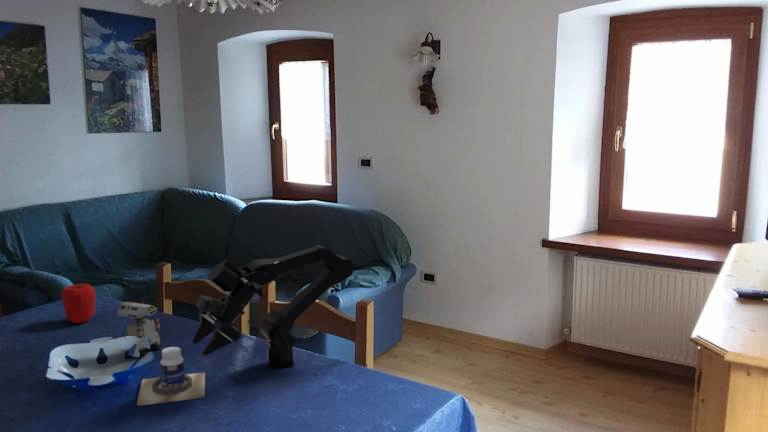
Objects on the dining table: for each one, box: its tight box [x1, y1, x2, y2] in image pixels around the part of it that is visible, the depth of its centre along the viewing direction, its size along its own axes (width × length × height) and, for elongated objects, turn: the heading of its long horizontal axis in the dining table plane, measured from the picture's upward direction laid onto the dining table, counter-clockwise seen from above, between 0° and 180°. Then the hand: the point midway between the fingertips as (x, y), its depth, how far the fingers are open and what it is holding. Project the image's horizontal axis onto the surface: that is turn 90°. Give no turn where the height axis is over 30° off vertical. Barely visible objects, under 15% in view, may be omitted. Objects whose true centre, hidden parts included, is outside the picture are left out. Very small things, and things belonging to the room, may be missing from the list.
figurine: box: [112, 301, 162, 350], centre depth 186 cm, size 9×12×15 cm
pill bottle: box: [159, 346, 185, 389], centre depth 161 cm, size 6×6×10 cm
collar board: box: [136, 371, 206, 407], centre depth 162 cm, size 16×13×2 cm
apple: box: [61, 282, 96, 325], centre depth 211 cm, size 11×10×14 cm
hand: (198, 348), depth 164 cm, fingers open, 9 cm apart
